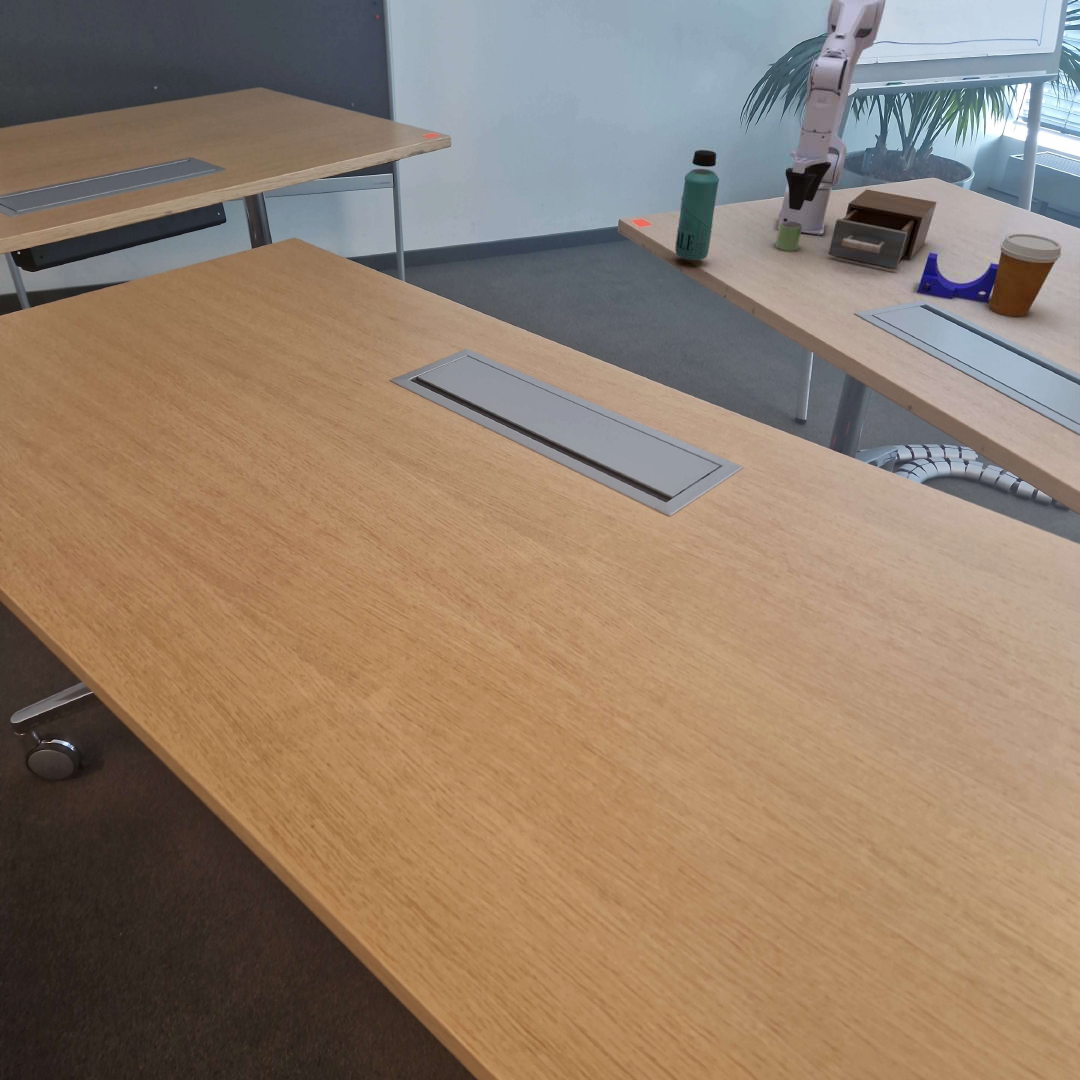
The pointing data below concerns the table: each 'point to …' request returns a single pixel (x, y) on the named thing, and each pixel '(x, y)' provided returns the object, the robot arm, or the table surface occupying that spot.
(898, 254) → the drawer
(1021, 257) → the disposable coffee cup
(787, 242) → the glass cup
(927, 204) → the cabinet
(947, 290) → the blue cradle bracket
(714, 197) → the beverage bottle
